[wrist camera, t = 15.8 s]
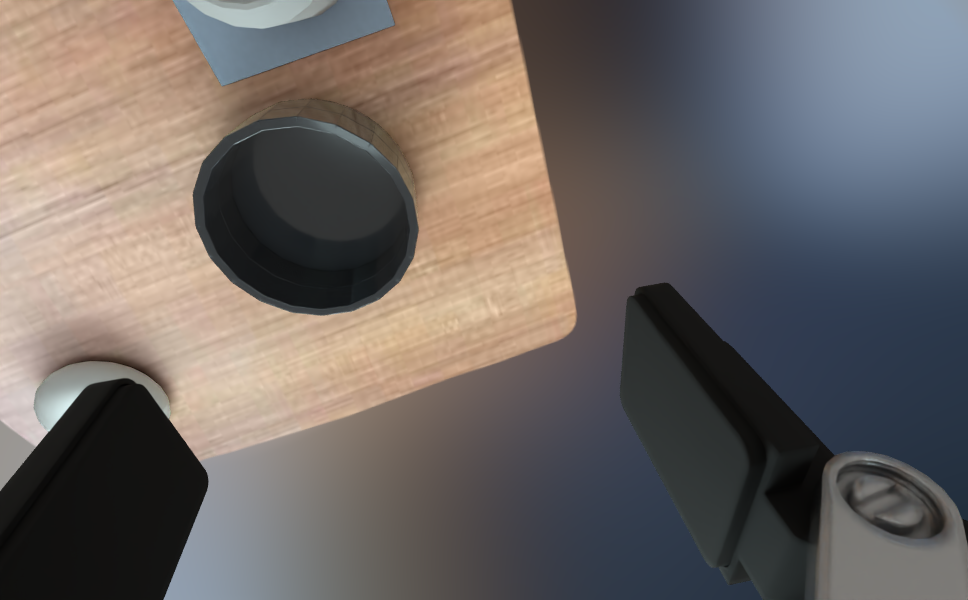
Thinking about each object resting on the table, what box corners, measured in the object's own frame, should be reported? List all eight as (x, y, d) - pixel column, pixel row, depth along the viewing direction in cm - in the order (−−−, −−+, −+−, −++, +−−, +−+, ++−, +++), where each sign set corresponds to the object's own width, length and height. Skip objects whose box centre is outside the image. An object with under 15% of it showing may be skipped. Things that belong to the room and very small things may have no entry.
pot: (228, 262, 37) (201, 303, 32) (219, 77, 30) (183, 92, 25) (402, 284, 40) (401, 324, 35) (429, 122, 33) (434, 144, 29)
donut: (21, 371, 40) (102, 444, 45) (-9, 399, 37) (82, 474, 42) (130, 338, 40) (199, 416, 45) (108, 364, 37) (184, 444, 42)
